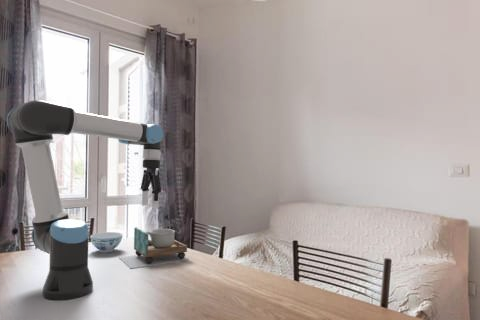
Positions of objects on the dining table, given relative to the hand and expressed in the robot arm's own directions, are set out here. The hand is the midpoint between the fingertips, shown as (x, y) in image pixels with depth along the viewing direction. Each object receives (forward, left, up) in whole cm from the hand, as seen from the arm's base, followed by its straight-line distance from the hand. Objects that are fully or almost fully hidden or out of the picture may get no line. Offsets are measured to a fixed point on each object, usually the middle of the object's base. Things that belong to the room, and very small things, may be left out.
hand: (149, 207), depth 156 cm
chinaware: (+28, +12, -24) cm, 39 cm away
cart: (+2, -6, -24) cm, 25 cm away
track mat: (+2, -3, -24) cm, 24 cm away
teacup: (+3, -6, -20) cm, 21 cm away
